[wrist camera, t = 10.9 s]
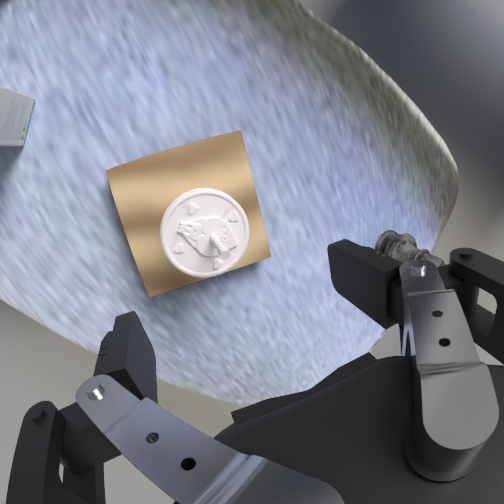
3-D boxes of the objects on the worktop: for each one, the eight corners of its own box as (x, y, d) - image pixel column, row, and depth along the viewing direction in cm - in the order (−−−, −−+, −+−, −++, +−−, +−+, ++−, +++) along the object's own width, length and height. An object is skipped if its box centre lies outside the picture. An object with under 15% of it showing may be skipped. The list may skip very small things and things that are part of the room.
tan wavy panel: (111, 170, 28) (105, 170, 26) (234, 133, 31) (240, 130, 28) (150, 286, 33) (149, 297, 31) (262, 249, 36) (271, 256, 33)
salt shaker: (366, 250, 41) (426, 279, 30) (390, 220, 40) (452, 240, 29) (384, 273, 43) (440, 304, 32) (406, 244, 43) (463, 268, 32)
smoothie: (212, 252, 31) (248, 314, 18) (153, 234, 29) (145, 290, 16) (233, 193, 30) (286, 215, 17) (173, 173, 28) (179, 178, 15)
